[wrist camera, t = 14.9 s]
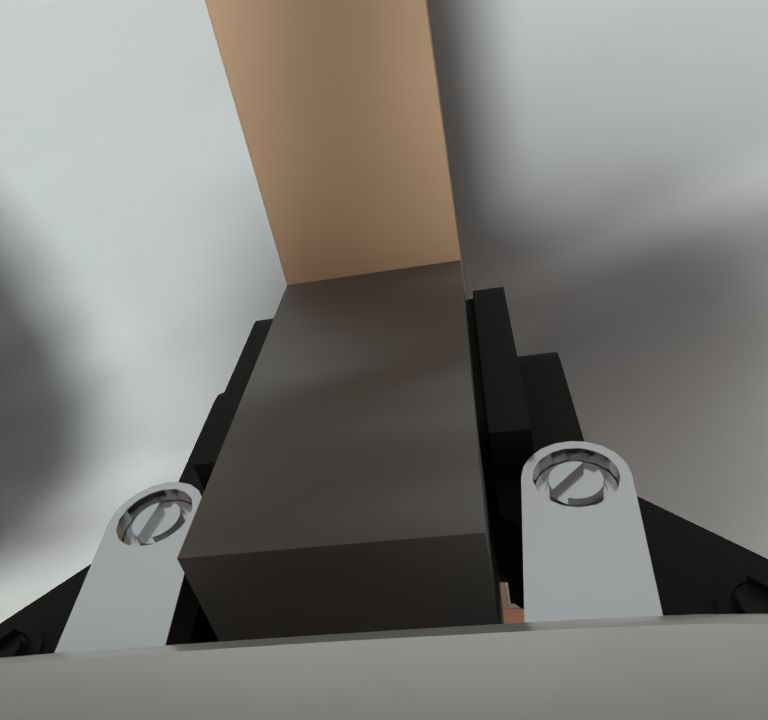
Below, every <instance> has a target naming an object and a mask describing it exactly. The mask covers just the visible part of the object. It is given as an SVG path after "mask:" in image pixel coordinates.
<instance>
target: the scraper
mask: <svg viewBox="0 0 768 720" xmlns="http://www.w3.org/2000/svg"><path fill="white" fill-rule="evenodd" d="M205 2H206V6H207V9H208V13H209V16H210V20H211V23H212V27H213V30H214V33H215V37H216V40H217V44H218V47H219V51H220V54H221V58H222V61H223V65H224V68H225V71H226V75H227V78H228V82H229V85H230V89H231V92H232V96H233V99H234V102H235V106H236V109H237V113H238V116H239V120H240V123H241V127H242V130H243V134H244V137H245V140H246V144H247V147H248V151H249V154H250V158H251V161H252V165H253V168H254V172H255V175H256V178H257V182H258V185H259V189H260V192H261V196H262V199H263V203H264V206H265V210H266V213H267V216H268V220H269V223H270V227H271V230H272V234H273V237H274V241H275V244H276V247H277V251H278V254H279V258H280V261H281V265H282V268H283V272H284V275H285V279H286V282H287V287H286V290H285V292H284V295H283V297H282V300H281V302H280V305H279V307H278V310H277V312H276V315H275V317H274V320H273V322H272V325H271V327H270V330H269V332H268V334H267V337H266V339H265V342H264V344H263V347H262V349H261V352H260V354H259V357H258V359H257V362H256V364H255V367H254V369H253V372H252V374H251V377H250V379H249V382H248V384H247V387H246V389H245V391H244V394H243V396H242V399H241V401H240V404H239V406H238V409H237V411H236V414H235V416H234V419H233V421H232V424H231V426H230V429H229V431H228V434H227V436H226V439H225V441H224V443H223V446H222V448H221V451H220V453H219V456H218V458H217V461H216V463H215V466H214V468H213V471H212V473H211V476H210V478H209V481H208V483H207V486H206V488H205V491H204V493H203V496H202V498H201V500H200V503H199V505H198V508H197V510H196V513H195V515H194V518H193V520H192V523H191V525H190V528H189V530H188V533H187V535H186V538H185V540H184V543H183V545H182V548H181V550H180V553H179V555H178V557H177V559H178V561H179V563H180V565H181V567H182V569H183V571H184V573H185V575H186V577H187V579H188V581H189V583H190V585H191V587H192V589H193V591H194V593H195V595H196V597H197V599H198V601H199V603H200V605H201V607H202V609H203V611H204V613H205V615H206V617H207V619H208V621H209V623H210V625H211V626H212V628H213V630H214V632H215V634H216V636H217V638H218V640H219V642H222V641H237V640H252V639H267V638H282V637H298V636H313V635H329V634H344V633H360V632H376V631H391V630H407V629H424V628H441V627H458V626H475V625H491V624H505V622H504V613H503V607H508V606H507V597H506V589H505V582H502V583H499V577H498V570H497V563H496V556H495V549H494V542H493V535H492V528H491V521H490V514H489V507H488V499H487V492H486V485H485V478H484V471H483V464H482V457H481V450H480V442H479V434H478V425H477V415H476V404H475V394H474V383H473V373H472V362H471V352H470V341H469V331H468V320H467V309H466V300H468V298H467V290H466V283H465V275H464V268H463V260H462V253H461V245H460V238H459V230H458V223H457V215H456V208H455V200H454V193H453V186H452V178H451V171H450V163H449V156H448V148H447V141H446V133H445V126H444V118H443V111H442V103H441V96H440V88H439V81H438V73H437V66H436V59H435V51H434V44H433V36H432V29H431V21H430V14H429V6H428V0H205Z"/></svg>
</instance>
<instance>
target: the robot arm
mask: <svg viewBox="0 0 768 720" xmlns="http://www.w3.org/2000/svg"><path fill="white" fill-rule="evenodd" d="M473 298H474V299H470V300H466V309H467V320H468V331H469V341H470V352H471V362H472V373H473V383H474V394H475V404H476V415H477V425H478V434H479V442H480V450H481V457H482V464H483V471H484V478H485V485H486V492H487V499H488V507H489V514H490V521H491V528H492V535H493V542H494V549H495V556H496V563H497V570H498V577H499V583H502V582H508V585H509V593H510V600H511V604H513V603H515V604H516V605H518V606H519V607H521V608H522V609H524V623H508V624H491V625H475V626H458V627H441V628H424V629H407V630H391V631H376V632H360V633H344V634H329V635H313V636H298V637H282V638H267V639H252V640H237V641H222V642H219V640H218V638H217V636H216V634H215V632H214V630H213V628H212V626H211V625H210V623H209V621H208V619H207V617H206V615H205V613H204V611H203V609H202V607H201V605H200V603H199V601H198V599H197V597H196V595H195V593H194V591H193V589H192V587H191V585H190V583H189V581H188V579H187V577H186V575H185V573H184V571H183V569H182V567H181V565H180V563H179V561H178V559H177V557H178V555H179V553H180V550H181V548H182V545H183V543H184V540H185V538H186V535H187V533H188V530H189V528H190V525H191V523H192V520H193V518H194V515H195V513H196V510H197V508H198V505H199V503H200V500H201V498H202V496H203V493H204V491H205V488H206V486H207V483H208V481H209V478H210V476H211V473H212V471H213V468H214V466H215V463H216V461H217V458H218V456H219V453H220V451H221V448H222V446H223V443H224V441H225V439H226V436H227V434H228V431H229V429H230V426H231V424H232V421H233V419H234V416H235V414H236V411H237V409H238V406H239V404H240V401H241V399H242V396H243V394H244V391H245V389H246V387H247V384H248V382H249V379H250V377H251V374H252V372H253V369H254V367H255V364H256V362H257V359H258V357H259V354H260V352H261V349H262V347H263V344H264V342H265V339H266V337H267V334H268V332H269V330H270V327H271V325H272V322H273V320H274V319H268V320H261V321H256V322H255V324H254V326H253V328H252V330H251V333H250V335H249V337H248V340H247V342H246V344H245V346H244V349H243V351H242V353H241V356H240V358H239V360H238V363H237V365H236V367H235V369H234V372H233V374H232V376H231V379H230V381H229V383H228V386H227V388H226V390H225V392H224V393H222V394H219V395H218V397H217V398H216V400H215V402H214V404H213V406H212V408H211V411H210V413H209V415H208V417H207V420H206V422H205V424H204V426H203V428H202V431H201V433H200V435H199V437H198V440H197V442H196V444H195V446H194V449H193V451H192V453H191V455H190V457H189V460H188V462H187V464H186V466H185V469H184V471H183V473H182V475H181V478H180V480H179V482H173V483H164V484H160V485H157V486H153V487H151V488H148V489H146V490H144V491H142V492H140V493H138V494H137V495H135V496H134V497H132V498H131V499H129V500H128V501H127V502H125V503H124V504H123V505H122V506H121V507H120V508H119V509H118V510H117V511H116V512H115V514H114V515H113V517H112V519H111V520H110V522H109V524H108V526H107V528H106V531H105V533H104V535H103V538H102V540H101V543H100V545H99V547H98V550H97V552H96V554H95V557H94V559H93V562H92V564H90V565H89V566H87V567H86V568H84V569H83V570H81V571H80V572H78V573H77V574H75V575H74V576H72V577H71V578H69V579H68V580H66V581H65V582H63V583H62V584H60V585H58V586H57V587H55V588H54V589H52V590H51V591H49V592H48V593H46V594H45V595H43V596H42V597H40V598H39V599H37V600H36V601H34V602H33V603H31V604H30V605H28V606H26V607H25V608H23V609H22V610H20V611H19V612H17V613H16V614H14V615H13V616H11V617H10V618H8V619H7V620H5V621H4V622H2V623H1V624H0V720H768V559H766V558H764V557H762V556H760V555H758V554H756V553H754V552H752V551H750V550H748V549H746V548H743V547H741V546H739V545H737V544H735V543H733V542H731V541H729V540H727V539H725V538H723V537H721V536H718V535H716V534H714V533H712V532H710V531H708V530H706V529H704V528H702V527H700V526H698V525H696V524H694V523H691V522H689V521H687V520H685V519H683V518H681V517H679V516H677V515H675V514H673V513H671V512H669V511H667V510H664V509H662V508H660V507H658V506H656V505H654V504H652V503H650V502H648V501H646V500H644V499H642V498H640V497H637V494H636V490H635V485H634V480H633V476H632V473H631V471H630V469H629V466H628V464H627V463H626V462H625V461H624V460H623V459H622V458H621V457H620V456H619V455H618V454H617V453H615V452H614V451H612V450H610V449H608V448H606V447H604V446H601V445H597V444H594V443H590V442H584V439H583V436H582V432H581V429H580V426H579V422H578V419H577V416H576V412H575V409H574V405H573V402H572V399H571V395H570V392H569V389H568V385H567V382H566V379H565V375H564V372H563V368H562V365H561V362H560V358H559V356H558V353H557V352H553V353H544V354H536V355H528V356H520V357H517V354H516V349H515V344H514V339H513V334H512V329H511V324H510V319H509V314H508V309H507V304H506V299H505V294H504V289H503V287H499V288H492V289H484V290H477V291H473Z"/></svg>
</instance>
